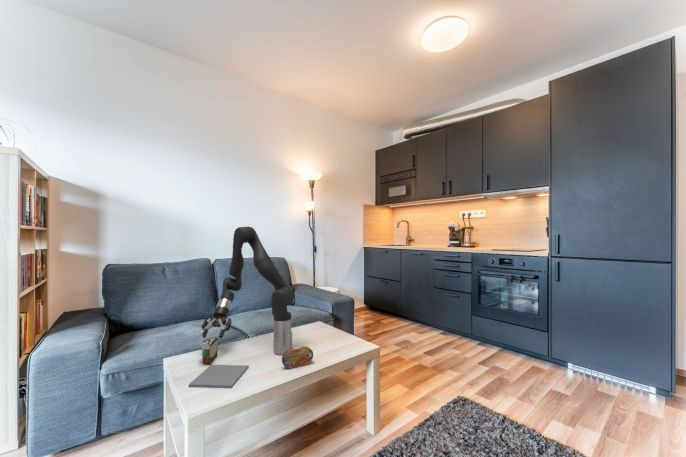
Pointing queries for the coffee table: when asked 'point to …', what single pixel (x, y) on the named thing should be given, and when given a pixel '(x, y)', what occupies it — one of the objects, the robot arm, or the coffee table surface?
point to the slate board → (219, 376)
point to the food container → (209, 350)
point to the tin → (297, 357)
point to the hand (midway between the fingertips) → (211, 337)
